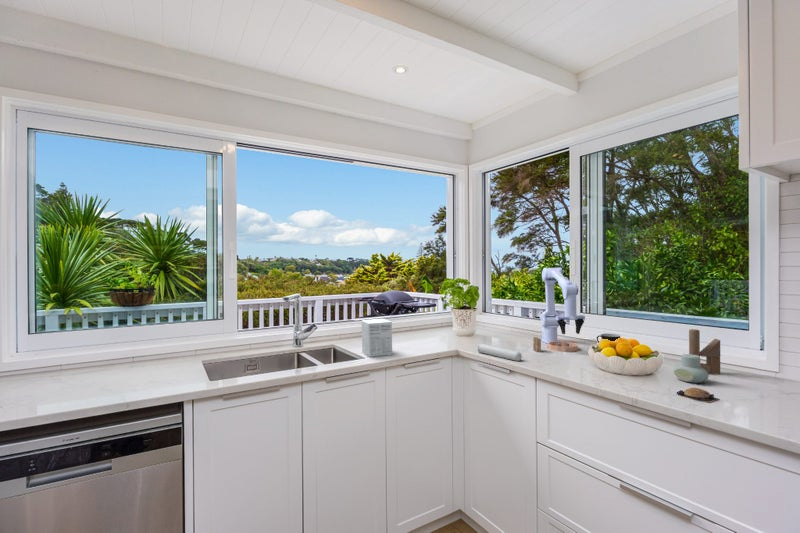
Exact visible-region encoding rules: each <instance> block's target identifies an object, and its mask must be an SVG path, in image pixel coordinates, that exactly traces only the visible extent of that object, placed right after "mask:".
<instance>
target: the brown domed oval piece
mask: <svg viewBox="0 0 800 533" xmlns="http://www.w3.org/2000/svg"><path fill="white" fill-rule="evenodd" d="M676 394H677V395H678V396H680V397H684V398H687V399H690V400H692V401H693V400H694V401H697V402H702V403H706V404H711V403H715V402H718V401H720V398H717V397H715V395H714V393H712V394H711V393H710V392H709V391H707V390H705V389H702V388H698V387H690V388H687V389H685V390H679V391H676Z"/></svg>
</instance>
